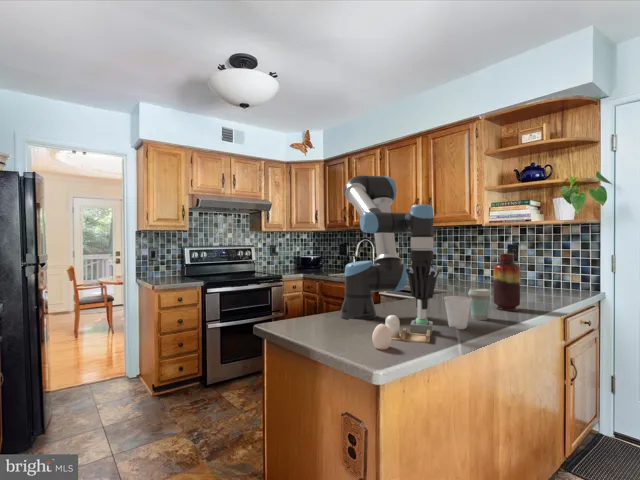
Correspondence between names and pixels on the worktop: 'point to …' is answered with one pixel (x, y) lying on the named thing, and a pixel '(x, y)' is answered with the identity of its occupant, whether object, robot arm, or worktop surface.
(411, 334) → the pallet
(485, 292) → the coffee cup
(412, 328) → the button collar
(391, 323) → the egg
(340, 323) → the worktop surface
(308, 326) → the worktop surface
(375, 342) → the egg
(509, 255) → the vase
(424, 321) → the button
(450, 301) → the cup
